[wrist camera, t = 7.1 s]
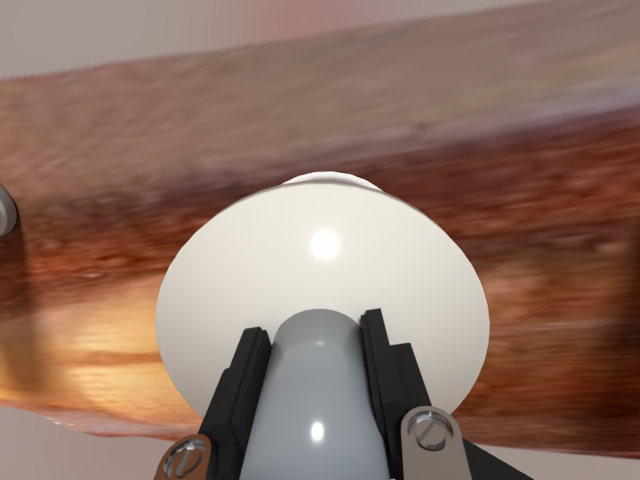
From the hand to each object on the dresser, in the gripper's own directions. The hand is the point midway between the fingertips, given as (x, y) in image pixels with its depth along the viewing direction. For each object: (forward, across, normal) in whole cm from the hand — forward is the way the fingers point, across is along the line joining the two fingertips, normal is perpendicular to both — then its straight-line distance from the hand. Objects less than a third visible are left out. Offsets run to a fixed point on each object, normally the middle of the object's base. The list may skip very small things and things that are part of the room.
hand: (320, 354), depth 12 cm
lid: (+1, 0, 0) cm, 1 cm away
